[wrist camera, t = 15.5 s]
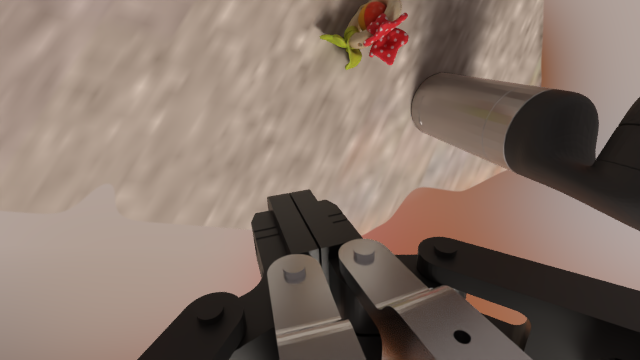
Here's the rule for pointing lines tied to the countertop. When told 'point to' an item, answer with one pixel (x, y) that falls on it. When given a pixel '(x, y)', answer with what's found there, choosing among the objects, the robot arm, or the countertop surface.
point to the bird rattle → (373, 32)
